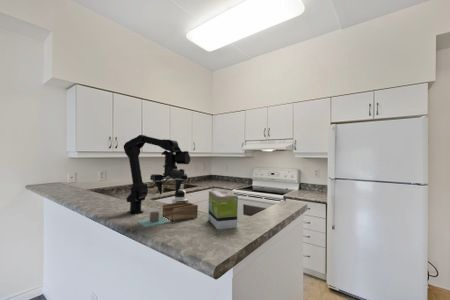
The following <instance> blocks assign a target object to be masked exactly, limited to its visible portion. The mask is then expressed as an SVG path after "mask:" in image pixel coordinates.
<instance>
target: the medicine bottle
mask: <svg viewBox="0 0 450 300" xmlns="http://www.w3.org/2000/svg"><path fill="white" fill-rule="evenodd" d="M186 195H187V193H186V191H185V190H184V189H179V190H178V193H176V190H175V192H174V198H172V199H171V204H172V203H179V202H189V199H187V198H186Z"/></svg>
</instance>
